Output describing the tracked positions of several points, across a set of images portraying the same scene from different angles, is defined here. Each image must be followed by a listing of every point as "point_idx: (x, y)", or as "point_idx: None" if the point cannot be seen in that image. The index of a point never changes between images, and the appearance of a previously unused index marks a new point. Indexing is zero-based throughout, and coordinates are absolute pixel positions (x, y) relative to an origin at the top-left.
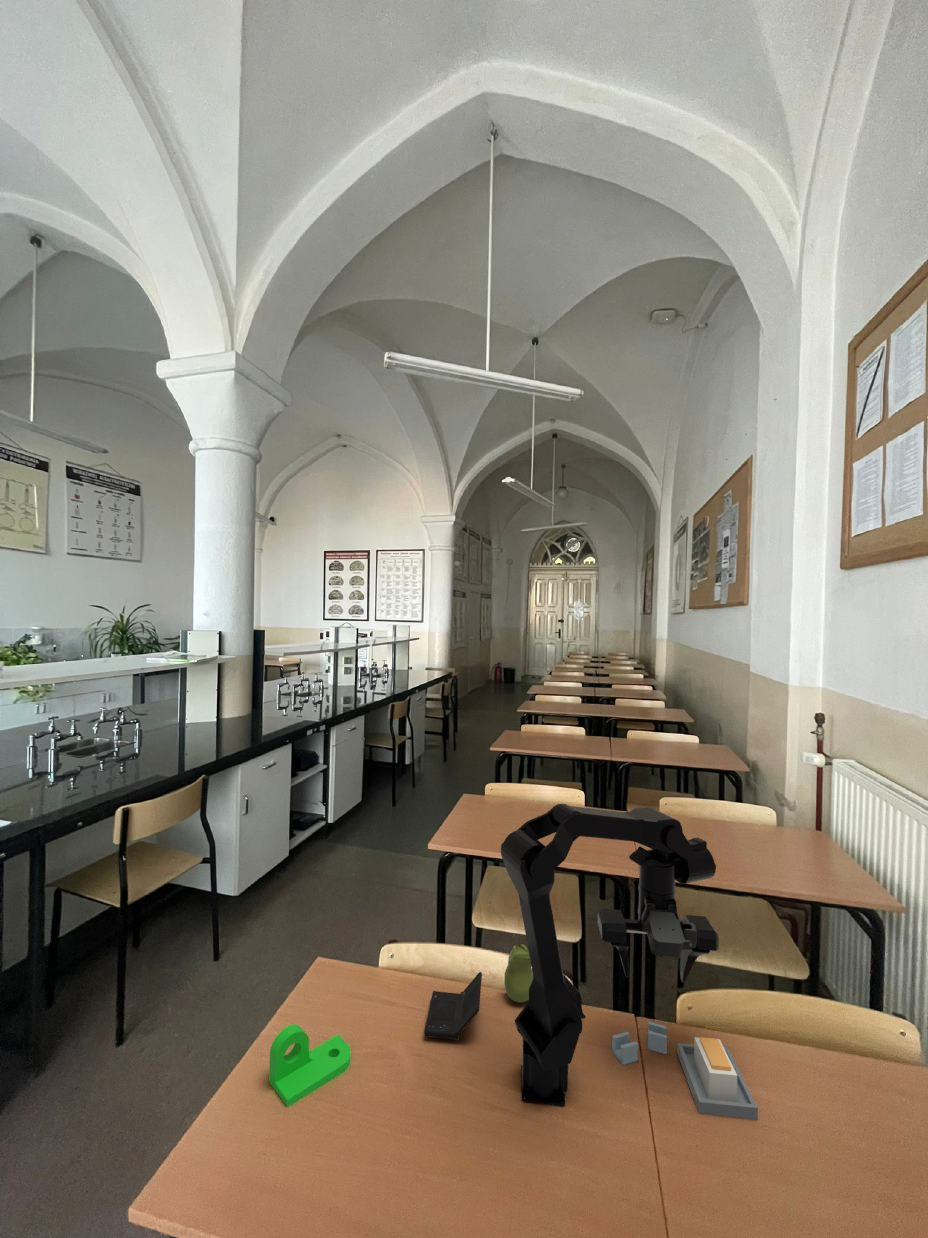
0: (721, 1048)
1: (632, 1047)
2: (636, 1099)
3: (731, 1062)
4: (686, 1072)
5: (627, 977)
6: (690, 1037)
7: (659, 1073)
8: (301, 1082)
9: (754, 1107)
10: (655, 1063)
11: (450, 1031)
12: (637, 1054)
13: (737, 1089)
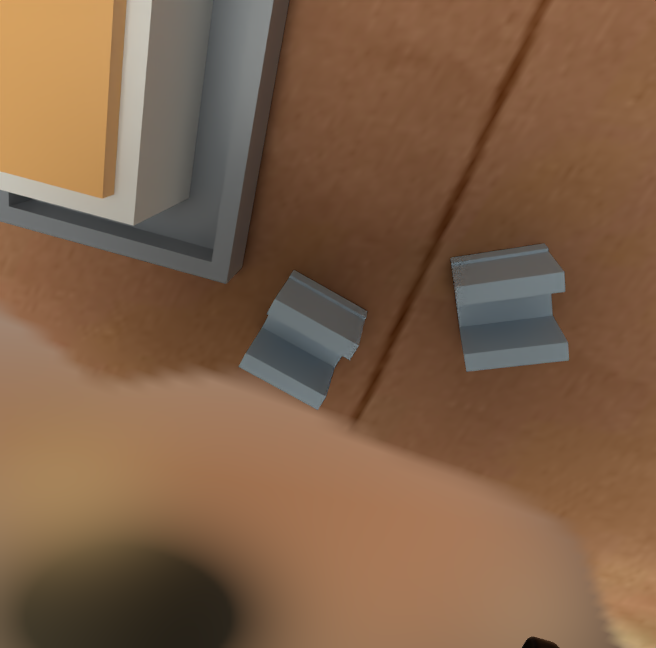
0: (1, 89)
1: (493, 277)
2: (598, 27)
3: None
4: (259, 126)
5: (545, 644)
6: (141, 340)
7: (383, 173)
8: None
9: None
10: (371, 232)
11: None
12: (453, 269)
13: None
